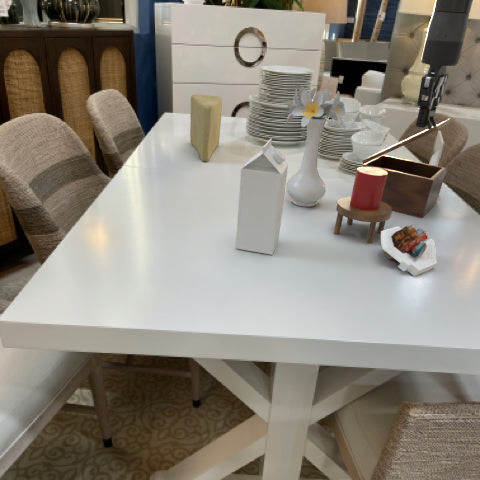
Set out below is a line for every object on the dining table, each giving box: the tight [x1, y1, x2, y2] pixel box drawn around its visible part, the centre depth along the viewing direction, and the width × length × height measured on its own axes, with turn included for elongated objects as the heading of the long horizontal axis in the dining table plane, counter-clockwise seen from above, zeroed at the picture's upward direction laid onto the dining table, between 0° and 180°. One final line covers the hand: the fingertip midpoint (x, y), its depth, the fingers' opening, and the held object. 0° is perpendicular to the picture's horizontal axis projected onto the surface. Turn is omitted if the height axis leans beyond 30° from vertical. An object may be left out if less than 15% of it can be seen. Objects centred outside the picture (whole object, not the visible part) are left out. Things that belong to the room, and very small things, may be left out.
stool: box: [333, 195, 393, 245], centre depth 98 cm, size 11×11×6 cm
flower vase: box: [284, 86, 346, 208], centre depth 107 cm, size 13×18×25 cm
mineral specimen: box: [380, 224, 438, 277], centre depth 88 cm, size 12×12×7 cm
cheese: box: [189, 94, 223, 163], centre depth 141 cm, size 22×10×15 cm, turn 4°
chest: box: [361, 154, 448, 219], centre depth 116 cm, size 17×14×9 cm
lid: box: [361, 108, 453, 164], centre depth 111 cm, size 18×14×5 cm
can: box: [350, 166, 388, 210], centre depth 94 cm, size 6×6×7 cm
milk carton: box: [235, 138, 289, 256], centre depth 85 cm, size 7×7×19 cm
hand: (424, 125), depth 107 cm, fingers closed on lid, 5 cm apart
